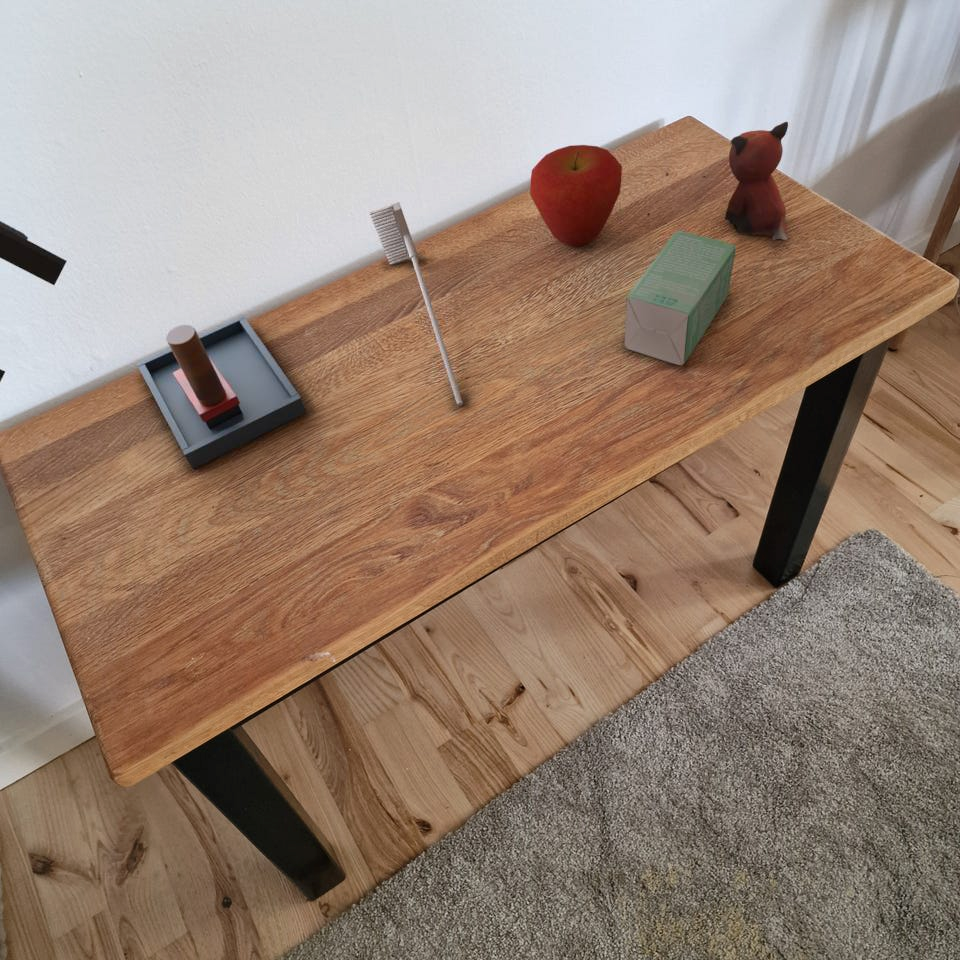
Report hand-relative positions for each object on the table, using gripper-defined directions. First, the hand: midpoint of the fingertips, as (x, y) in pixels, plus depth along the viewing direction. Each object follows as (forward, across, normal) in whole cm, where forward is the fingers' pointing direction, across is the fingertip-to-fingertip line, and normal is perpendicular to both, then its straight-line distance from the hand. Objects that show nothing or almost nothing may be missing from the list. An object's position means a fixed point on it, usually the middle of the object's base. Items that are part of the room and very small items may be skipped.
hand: (32, 325), depth 68 cm
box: (+57, -23, +23) cm, 66 cm away
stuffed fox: (+65, -40, +31) cm, 83 cm away
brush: (+36, -25, +2) cm, 44 cm away
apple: (+49, -40, +16) cm, 65 cm away
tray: (+20, -15, -14) cm, 28 cm away
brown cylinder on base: (+19, -13, -13) cm, 27 cm away
